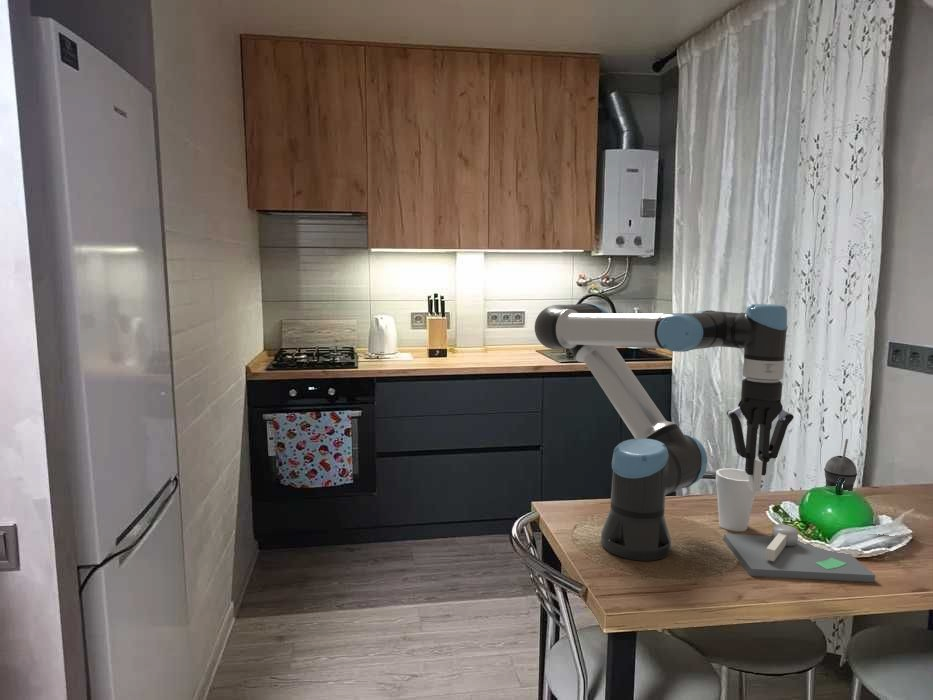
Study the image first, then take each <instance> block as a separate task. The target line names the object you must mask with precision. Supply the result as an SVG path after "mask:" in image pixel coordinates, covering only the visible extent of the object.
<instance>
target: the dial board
mask: <svg viewBox="0 0 933 700" xmlns="http://www.w3.org/2000/svg"><path fill="white" fill-rule="evenodd" d="M722 540H723V541H724V543H725V544H726V546H727V548H729V549H730V551H731V550H732V551H731V552H732V553H733V555H734V556H735V557H736V558H737V560H738V561H739V562H740V564H741V565H742V566H743V568H744V569H745V571H746V572H747V573H748V574H749V575H750V577H763V576H764V578H765V577H767V578H781V579H782V578H783V579H784V578H789V579H803V580H804V579H808V580H824V581H844V582H858V583H859V582H861V583H862V582H863V583H875V582H876V581H875V579H876V574H875V573H873V572H872V570H870V569H868V568H867V567H866V566H865V565H864V564H863V563H862V562H860V561H859V560H858V559H857V558H856V557H854V556H853V555H852V554H851V553H850V554H845V553H837V552H832V551H827V550H824V549H820V548H817V547H814V546H811V545H808V544H804V543H802V542H800V541H798V540H797V544H796V545H794V546H787V545H786V546H785V547H784V548H783V550H782V551H781V553H780V554H779V555H778V557H777V558H776V559H775V561H770V560H767V559H766V548H767V547H768V546H769V544H770V543H771V542H772V541H773V540H772V535H760V534H739V533H738V534H736V533H723V539H722Z"/></svg>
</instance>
